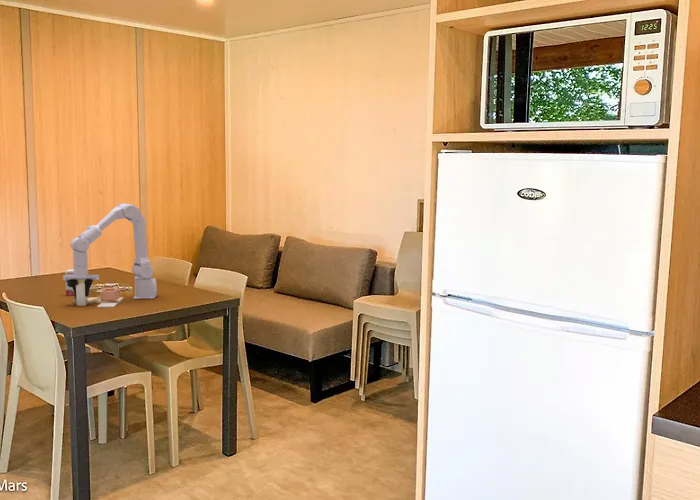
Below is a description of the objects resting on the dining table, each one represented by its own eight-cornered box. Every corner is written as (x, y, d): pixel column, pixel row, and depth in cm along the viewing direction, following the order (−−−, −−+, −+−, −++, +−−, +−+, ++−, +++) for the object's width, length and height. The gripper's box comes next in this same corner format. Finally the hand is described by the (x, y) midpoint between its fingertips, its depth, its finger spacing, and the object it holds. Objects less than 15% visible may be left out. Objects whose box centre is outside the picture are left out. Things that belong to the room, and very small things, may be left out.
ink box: (65, 296, 305) (64, 271, 303) (67, 294, 310) (66, 269, 308) (85, 295, 307) (84, 270, 305) (87, 293, 311) (86, 268, 310)
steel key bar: (87, 304, 289) (86, 283, 287) (85, 305, 285) (84, 285, 284) (79, 304, 288) (78, 283, 287) (76, 305, 285) (75, 285, 283)
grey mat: (117, 303, 290) (117, 302, 290) (113, 307, 283) (113, 306, 283) (101, 303, 289) (101, 303, 289) (96, 307, 282) (96, 306, 282)
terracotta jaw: (118, 296, 299) (118, 288, 298) (114, 300, 291) (114, 291, 290) (105, 296, 298) (104, 288, 297) (100, 300, 290) (100, 291, 290)
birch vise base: (123, 299, 299) (123, 286, 298) (119, 302, 291) (119, 289, 290) (77, 299, 297) (77, 286, 296) (72, 303, 289) (71, 290, 288)
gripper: (60, 267, 279) (61, 298, 281) (95, 266, 281) (96, 297, 283) (65, 264, 286) (66, 295, 288) (99, 264, 288) (101, 294, 290)
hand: (81, 296), depth 286 cm, fingers closed on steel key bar, 4 cm apart
